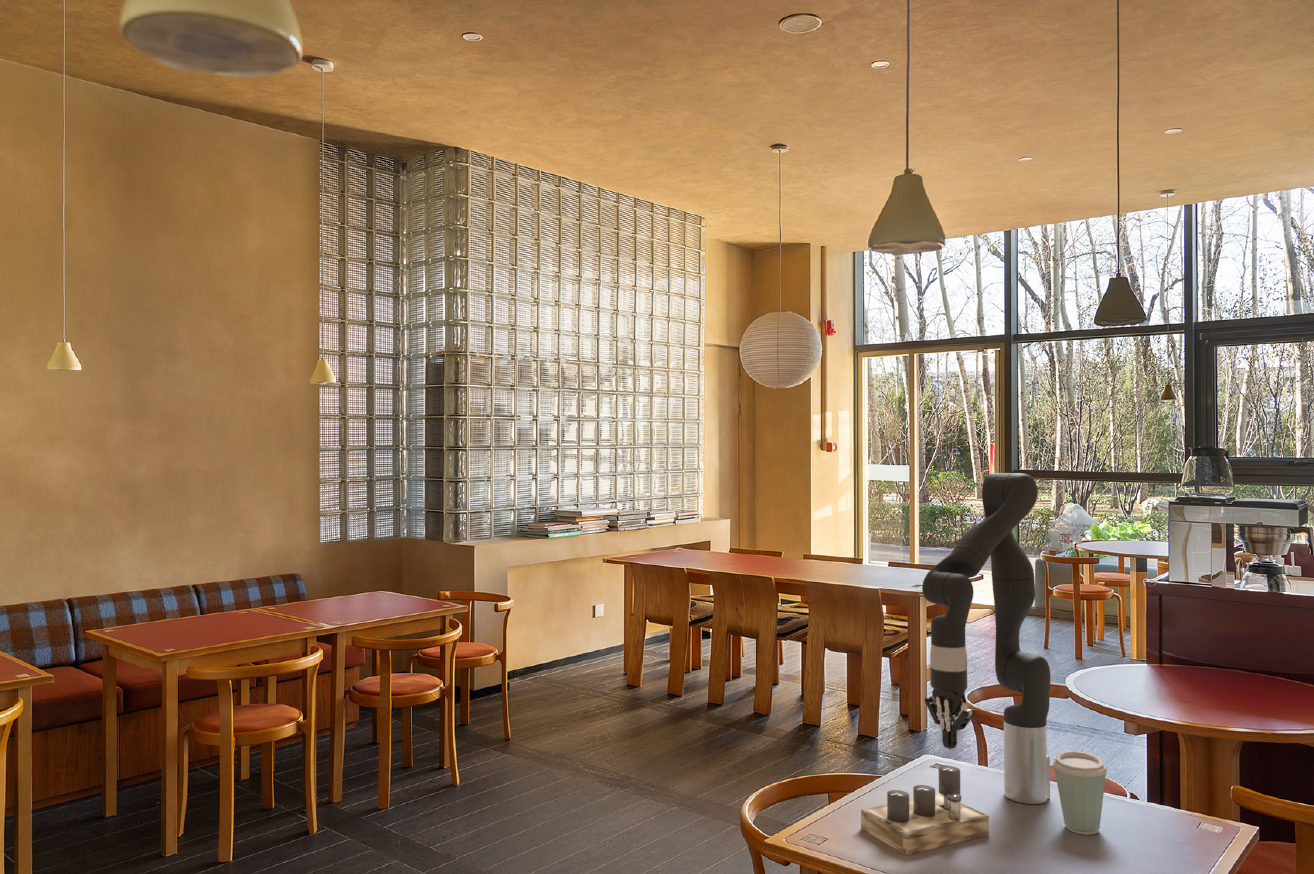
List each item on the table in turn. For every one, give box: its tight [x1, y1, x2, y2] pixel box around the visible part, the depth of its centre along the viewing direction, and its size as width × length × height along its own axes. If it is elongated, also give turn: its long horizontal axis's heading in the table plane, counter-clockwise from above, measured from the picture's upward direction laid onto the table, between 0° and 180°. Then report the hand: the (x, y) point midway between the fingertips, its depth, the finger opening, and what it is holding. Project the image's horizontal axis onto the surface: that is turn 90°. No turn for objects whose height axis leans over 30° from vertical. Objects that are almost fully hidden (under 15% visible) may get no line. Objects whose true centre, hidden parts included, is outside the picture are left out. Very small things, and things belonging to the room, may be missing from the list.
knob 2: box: [938, 765, 961, 809], centre depth 192 cm, size 4×4×8 cm
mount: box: [860, 793, 990, 856], centre depth 189 cm, size 22×14×4 cm, turn 116°
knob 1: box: [886, 789, 910, 823], centre depth 186 cm, size 4×4×8 cm
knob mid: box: [912, 784, 936, 817], centre depth 189 cm, size 4×4×8 cm
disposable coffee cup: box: [1052, 750, 1108, 836], centre depth 191 cm, size 11×11×15 cm
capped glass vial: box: [947, 793, 962, 821], centre depth 186 cm, size 3×3×5 cm
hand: (949, 747), depth 193 cm, fingers closed
